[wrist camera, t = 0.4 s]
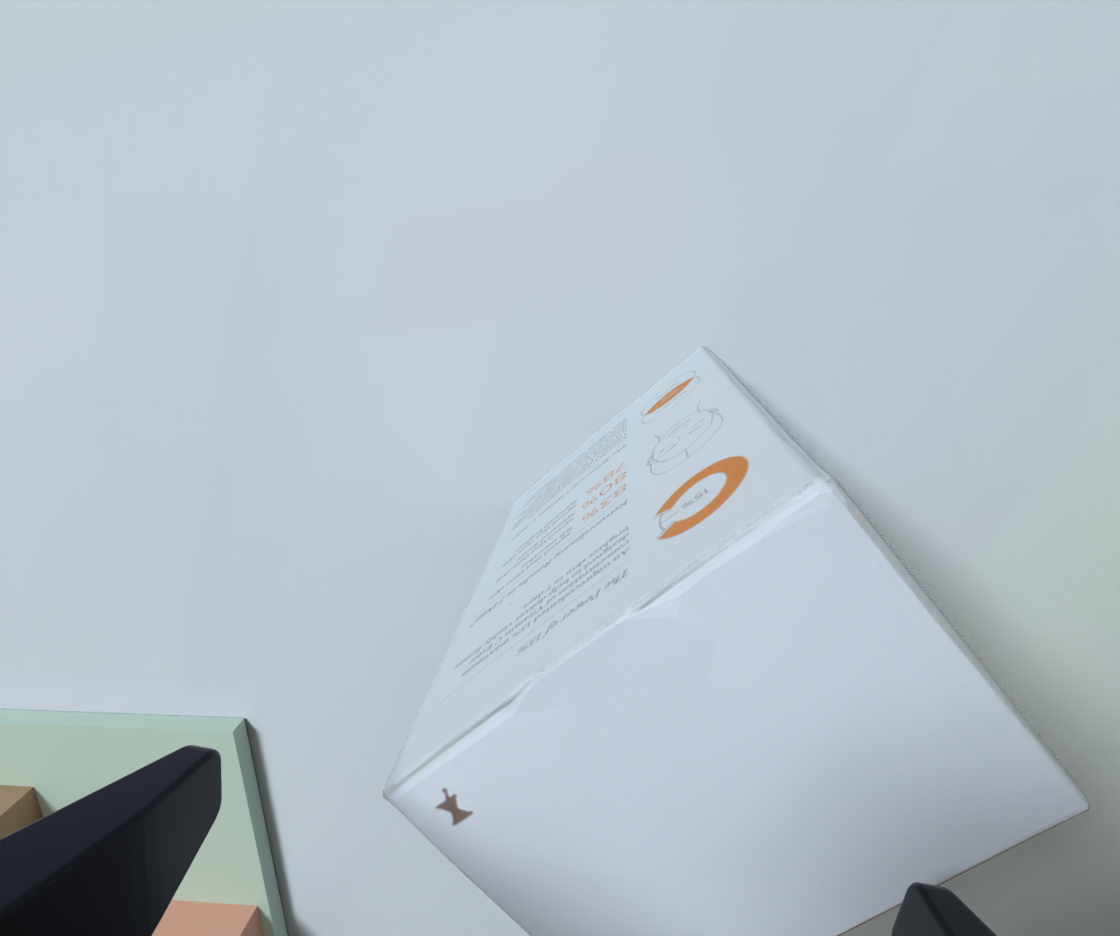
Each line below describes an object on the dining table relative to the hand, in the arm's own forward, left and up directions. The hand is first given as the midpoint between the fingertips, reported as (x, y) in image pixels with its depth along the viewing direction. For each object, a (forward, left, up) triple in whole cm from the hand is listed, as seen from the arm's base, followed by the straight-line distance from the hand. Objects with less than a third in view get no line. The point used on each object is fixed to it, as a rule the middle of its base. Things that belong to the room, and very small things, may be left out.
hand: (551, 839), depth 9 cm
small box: (0, -2, -14) cm, 14 cm away
